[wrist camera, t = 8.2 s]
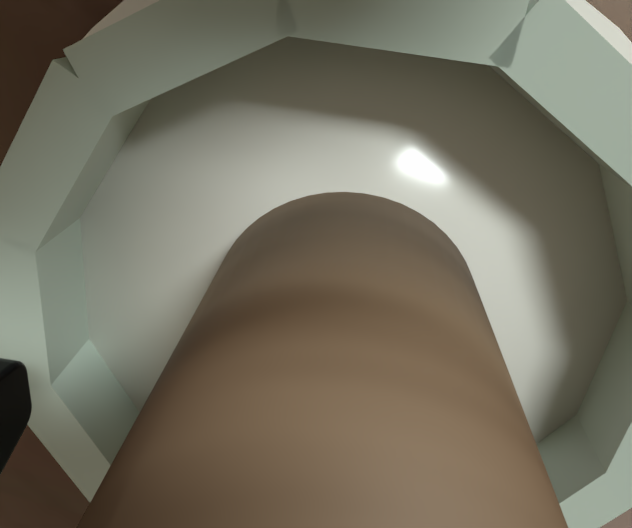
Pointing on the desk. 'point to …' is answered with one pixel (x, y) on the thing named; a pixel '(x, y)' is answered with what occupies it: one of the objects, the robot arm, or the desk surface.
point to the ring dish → (321, 177)
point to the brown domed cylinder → (333, 390)
